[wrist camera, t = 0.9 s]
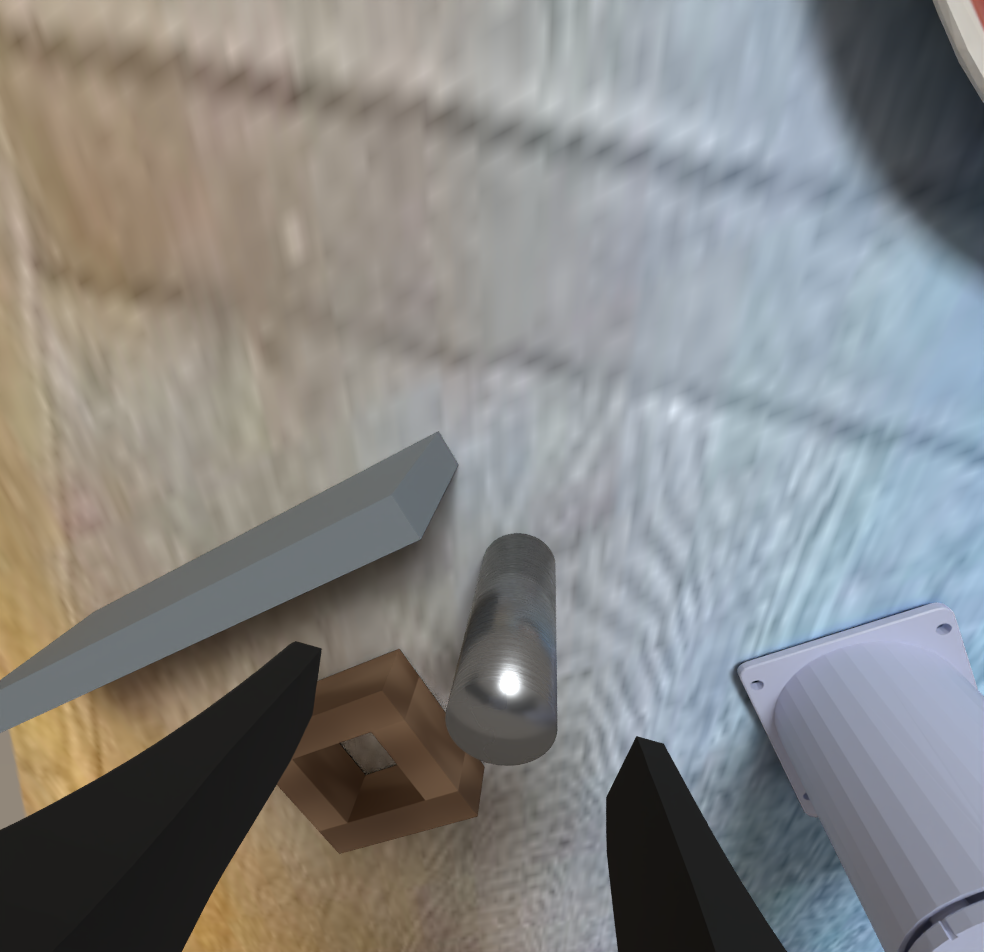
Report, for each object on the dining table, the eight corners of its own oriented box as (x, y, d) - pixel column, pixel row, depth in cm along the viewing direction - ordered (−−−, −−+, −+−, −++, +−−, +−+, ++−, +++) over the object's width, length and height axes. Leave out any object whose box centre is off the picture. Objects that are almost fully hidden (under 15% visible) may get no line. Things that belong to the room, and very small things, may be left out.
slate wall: (458, 464, 19) (420, 539, 14) (114, 635, 25) (-12, 738, 19) (438, 431, 19) (391, 494, 13) (93, 612, 24) (-43, 711, 19)
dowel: (568, 580, 21) (576, 748, 13) (504, 605, 22) (479, 776, 14) (534, 521, 20) (524, 665, 13) (470, 550, 21) (424, 701, 13)
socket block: (484, 766, 25) (477, 816, 23) (357, 804, 27) (339, 853, 25) (399, 648, 23) (381, 690, 21) (268, 700, 25) (239, 743, 23)
